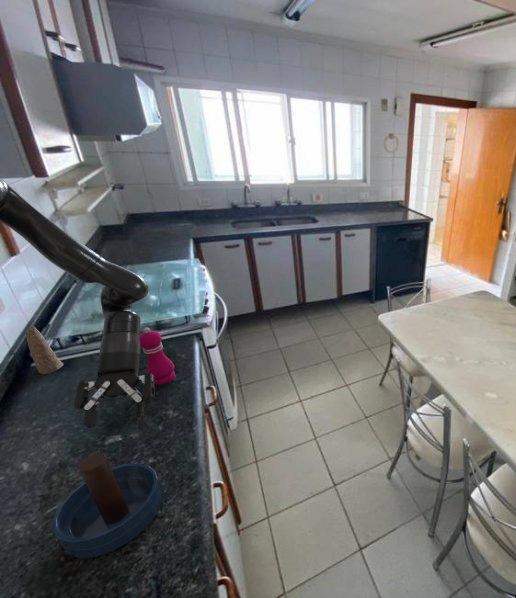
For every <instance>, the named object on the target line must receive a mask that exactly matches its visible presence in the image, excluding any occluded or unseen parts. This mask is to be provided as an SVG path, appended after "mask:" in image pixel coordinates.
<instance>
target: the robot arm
mask: <svg viewBox="0 0 516 598" xmlns="http://www.w3.org/2000/svg"><path fill="white" fill-rule="evenodd" d="M0 223H1V224H3V225H5V226H6V227H8V228H10V229H11V230H12V231H14V232H15V233H16V234H18V235H19V236H21V237H22V238H23V239H24V240H25V241H26V242H27V243H28V244H30V246H32V248H34V249H35V250H36V251H37V252H38V253H39V254H41V256H42V257H44V258H45V259H46V260H48V261H49V262H50V263H52V264H53V265H54V266H56V267H57V268H59V269H61V270H62V271H64V272H65V273H67V274H69V275H70V276H72V277H73V278H75V279H77V280H79V281H80V282H82V283H85V284H100V285H102V286H103V287H102V289H101V292H100V296H99V297H100V306H101V311H102V315H103V319H104V320H103V326H102V327H103V329H102V337H101V342H100V345H99V355H98V364H97V377H96V379H95V381H86V380H85V381H84V380H82V381H80V382H78V385H77V391H76V397H75V400H74V401H75V402H74V408H75V409H78V410H83V411H84V418H83V425H84V426H86V428H87V429H89V428H90V429H92V428H95V427H97V426H96V425H97V416H98V410H97V408H98V407H99V406H100V405H101V404H102V403H103V402H105V401H106V400H107V399H108V398H109V399H112V398H117V397H119V396H120V397H126V396H127V395H128V396H129V397H131V398H132V399H133V400H134V401H135V402H134V404H133V414H132V415H133V416H132V417H133V418H132V419H133V421H140V420H141V419H142V417H144V414H145V404H146V403H147V401H150V400H153V399H155V395H156V393H155V391H156V390H155V384H154V375H152V374H150V373H147V372H146V373H145V374H142V375H141V374H140V373H139V371H140V357H141V356H140V355H141V350H142V349H141V348H142V347H141V346H140V334H141V317H140V315H139V314H138V313H137V312H135V311H133V304H135V303H137V302H139V301H142V300H143V299H145V298H147V296H148V294H149V291H150V289H149V285H148V284H147V282H146V281H145V279H144V278H143V277H141V276H140V275H139V274H137V273H135V272H133V271H131V270H129V269H127V268H125V267H123V266H120V265H118V264H116V263H113V262H110V261H109V260H106V259H105V258H104V257H102V256H101V255H100V254H98V253H97V252H95V251H94V250H92V248H89V247H88V246H86V245H85V244H84V243H82V242H80V241H79V240H77V239H76V237H73V236H72V235H71V234H69V233H68V232H66V231H65V230H63V229H62V228H61V227H60V226H58V225H57V224H56V223H54V222H53V221H52V220H50V219H49V218H48V217H46V216H45V215H44V214H43V213H41V211H39V210H37V208H35V207H34V206H33V205H32V204H31V203H29V202H28V200H26V199H25V198H24V197H23V196H21V195H20V194H19V192H17V191H16V190H15V189H14V188H13V187H12V186H11V185H10V184H8V183H7V182H6V181H5V180H4V179H3V178H2V177H0ZM140 382H141V383H142V384H144V394H143V395H142V393H141V392H140V391H139V389H137V388H136V386H138V383H140ZM94 388H96V389H97V390H96V392H95V393H94V394H93V395H92V396H91V397H90V393H91V392H92V391H93V389H94ZM89 398H91V399H90V400H89Z"/></svg>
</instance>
